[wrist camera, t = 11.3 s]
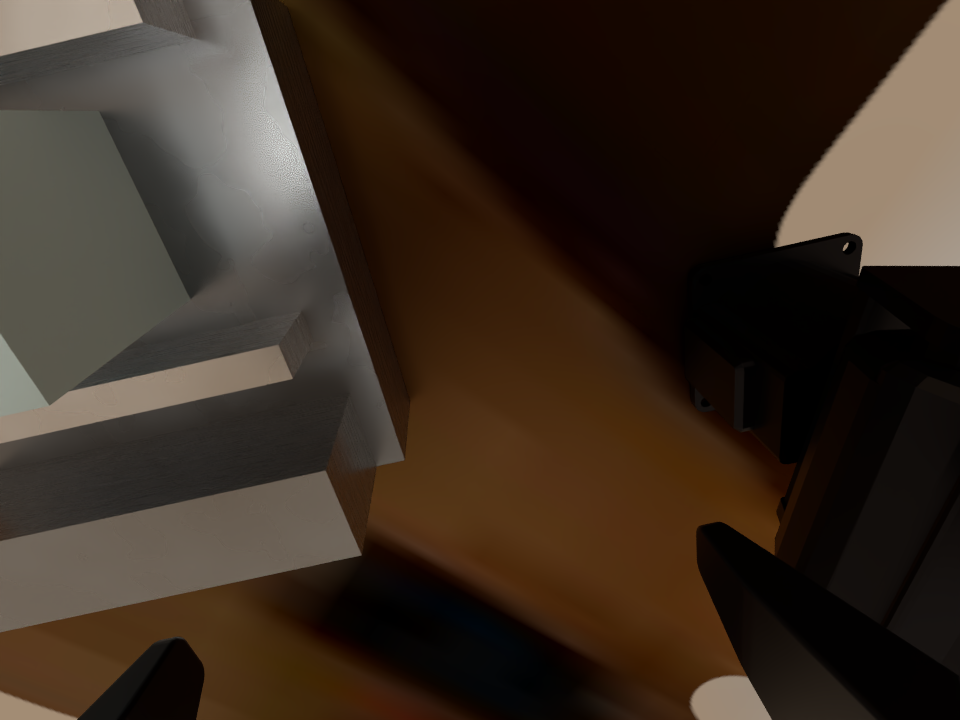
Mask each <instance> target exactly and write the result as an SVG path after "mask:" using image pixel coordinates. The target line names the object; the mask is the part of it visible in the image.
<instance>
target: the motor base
mask: <svg viewBox="0 0 960 720" xmlns="http://www.w3.org/2000/svg"><path fill="white" fill-rule="evenodd" d="M0 110H40V111H99V112H100V114H101V116H102V118H103V120H104V122H105V125H106V127H107V129H108V131H109V133H110V135H111V137H112V139H113V141H114V143H115V145H116V147H117V149H118V151H119V153H120V155H121V158H122V160H123V162H124V164H125V166H126V168H127V170H128V172H129V174H130V176H131V178H132V180H133V182H134V184H135V186H136V188H137V191H138V193H139V195H140V197H141V199H142V201H143V203H144V205H145V207H146V209H147V211H148V213H149V215H150V217H151V219H152V221H153V224H154V226H155V228H156V230H157V232H158V234H159V236H160V238H161V240H162V242H163V244H164V246H165V248H166V250H167V252H168V254H169V257H170V259H171V261H172V263H173V265H174V267H175V269H176V271H177V273H178V275H179V277H180V279H181V281H182V283H183V285H184V287H185V290H186V292H187V294H188V296H189V298H190V300H189V301H188V302H186V303H185V304H184V305H182V306H181V307H180V308H178V309H177V310H176V311H174V312H173V313H172V314H170V315H169V316H168V317H166V318H165V319H164V320H162V321H161V322H160V323H158V324H157V325H156V326H154V327H153V328H152V329H151V330H149V331H148V332H147V333H145V334H144V335H143V336H141V337H140V338H139V339H137V340H136V341H135V342H133V343H132V344H131V345H129V346H128V347H127V348H125V349H124V350H123V351H121V352H120V353H119V354H117V355H116V356H115V357H113V358H112V359H111V360H109V361H108V362H107V363H106V364H104V365H103V366H102V367H100V368H99V369H98V370H96V371H95V372H94V373H92V374H91V375H90V376H88V377H87V378H86V379H84V380H83V381H82V382H80V383H79V384H78V385H76V386H75V387H74V388H72V389H71V390H70V391H68V392H67V393H66V394H64V395H63V396H62V397H61V398H59V399H58V400H57V401H55V402H54V403H53V404H51V405H50V406H47V407H42V408H38V409H33V410H29V411H24V412H20V413H15V414H11V415H6V416H2V417H0V632H3V631H8V630H13V629H17V628H22V627H27V626H31V625H36V624H41V623H45V622H50V621H55V620H60V619H64V618H69V617H74V616H78V615H83V614H88V613H92V612H97V611H102V610H106V609H111V608H116V607H121V606H125V605H130V604H135V603H139V602H144V601H149V600H153V599H158V598H163V597H168V596H172V595H177V594H182V593H186V592H191V591H196V590H200V589H205V588H210V587H214V586H219V585H224V584H229V583H233V582H238V581H243V580H247V579H252V578H257V577H261V576H266V575H271V574H275V573H280V572H285V571H290V570H294V569H299V568H304V567H308V566H313V565H318V564H322V563H327V562H332V561H336V560H341V559H346V558H351V557H355V556H360V555H362V550H363V544H364V538H365V533H366V527H367V521H368V515H369V509H370V503H371V497H372V491H373V485H374V479H375V473H376V467H377V466H380V465H384V464H389V463H393V462H398V461H403V460H405V452H406V441H407V430H408V419H409V408H410V400H409V397H408V394H407V390H406V387H405V384H404V381H403V378H402V374H401V371H400V368H399V365H398V361H397V358H396V355H395V352H394V349H393V345H392V342H391V339H390V336H389V333H388V329H387V326H386V323H385V320H384V316H383V313H382V310H381V307H380V304H379V300H378V297H377V294H376V291H375V288H374V284H373V281H372V278H371V275H370V271H369V268H368V265H367V262H366V259H365V255H364V252H363V249H362V246H361V243H360V239H359V236H358V233H357V230H356V226H355V223H354V220H353V217H352V214H351V210H350V207H349V204H348V201H347V198H346V194H345V191H344V188H343V185H342V181H341V178H340V175H339V172H338V169H337V165H336V162H335V159H334V156H333V153H332V149H331V146H330V143H329V140H328V136H327V133H326V130H325V127H324V124H323V120H322V117H321V114H320V111H319V107H318V104H317V101H316V98H315V95H314V91H313V88H312V85H311V82H310V79H309V75H308V72H307V69H306V66H305V62H304V59H303V56H302V53H301V50H300V46H299V43H298V40H297V37H296V34H295V30H294V27H293V24H292V21H291V17H290V14H289V11H288V8H287V6H285V5H284V4H283V3H281V2H280V1H278V0H0Z"/></svg>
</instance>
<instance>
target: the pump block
mask: <svg viewBox="0 0 960 720" xmlns="http://www.w3.org/2000/svg"><path fill="white" fill-rule="evenodd" d="M189 300H190V298H189V296H188V294H187V292H186V290H185V287H184V285H183V283H182V281H181V279H180V277H179V275H178V273H177V271H176V269H175V267H174V265H173V263H172V261H171V259H170V257H169V254H168V252H167V250H166V248H165V246H164V244H163V242H162V240H161V238H160V236H159V234H158V232H157V230H156V228H155V226H154V224H153V221H152V219H151V217H150V215H149V213H148V211H147V209H146V207H145V205H144V203H143V201H142V199H141V197H140V195H139V193H138V191H137V188H136V186H135V184H134V182H133V180H132V178H131V176H130V174H129V172H128V170H127V168H126V166H125V164H124V162H123V160H122V158H121V155H120V153H119V151H118V149H117V147H116V145H115V143H114V141H113V139H112V137H111V135H110V133H109V131H108V129H107V127H106V125H105V122H104V120H103V118H102V116H101V114H100V112H99V111H40V110H0V417H2V416H6V415H11V414H15V413H20V412H24V411H29V410H33V409H38V408H42V407H47V406H50V405H51V404H53V403H54V402H55V401H57V400H58V399H59V398H61V397H62V396H63V395H64V394H66V393H67V392H68V391H70V390H71V389H72V388H74V387H75V386H76V385H78V384H79V383H80V382H82V381H83V380H84V379H86V378H87V377H88V376H90V375H91V374H92V373H94V372H95V371H96V370H98V369H99V368H100V367H102V366H103V365H104V364H106V363H107V362H108V361H109V360H111V359H112V358H113V357H115V356H116V355H117V354H119V353H120V352H121V351H123V350H124V349H125V348H127V347H128V346H129V345H131V344H132V343H133V342H135V341H136V340H137V339H139V338H140V337H141V336H143V335H144V334H145V333H147V332H148V331H149V330H151V329H152V328H153V327H154V326H156V325H157V324H158V323H160V322H161V321H162V320H164V319H165V318H166V317H168V316H169V315H170V314H172V313H173V312H174V311H176V310H177V309H178V308H180V307H181V306H182V305H184V304H185V303H186V302H188V301H189Z"/></svg>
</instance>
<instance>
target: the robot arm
mask: <svg viewBox="0 0 960 720" xmlns="http://www.w3.org/2000/svg"><path fill="white" fill-rule="evenodd" d="M846 243H849V244H848V247H847V249H846V250H845V251H843V247H844V245H845V244H846ZM862 246H863V243H862V239H861V238H860V237H859V236H857V235H855V234H851V233H840V234H835V235H831V236H826V237H822V238H817V239H813V240H809V241H804V242H799V243H795V244H790V245H786V246H781V247H777V248H772V249H768V250H763V251H759V252H754V253H750V254H745V255H741V256H736V257H732V258H727V259H723V260H718V261H713V262H709V263H704V264H700V265H698V266H695V267H694V268H693V269H692V270H691V272H690V273H689V276H688V306H689V319H688V320H687V321H686V323H685V325H684V353H685V377H686V379H687V380H688V381H689V382H690V384H691V402H692V404H693V405H694V406H695V407H696V408H697V410H698V411H701V412H708V411H712V410H716V411H717V412H718V413H719V414H720V415H721V416H722V417H723V418H724V419H725V420H726V421H727V422H728V424H729V425H730V426H731V427H732V428H734V429H735V430H737V431H739V432H745V431H750V432H751V433H752V434H753V435H754V436H755V437H756V438H757V439H758V440H759V441H760V442H761V443H762V444H763V445H764V446H765V447H766V448H767V449H768V450H769V451H770V452H771V453H772V454H773V455H774V456H775V457H776V458H777V459H778V460H779V461H780V462H781V463H782V464H791V463H795V462H797V465H796V467H795V470H794V473H793V476H792V479H791V482H790V484H789V487H788V490H787V493H786V496H785V497H782V498H781V499H780V502H779V505H778V508H777V511H776V512H777V516H778V519H779V521H780V526H779V529H778V532H777V534H776V537H775V556H774V555H773V554H771V553H770V552H768V551H767V550H765V549H764V548H762V547H760V546H759V545H757V544H756V543H754V542H753V541H751V540H750V539H748V538H747V537H745V536H744V535H742V534H740V533H739V532H737V531H736V530H734V529H733V528H731V527H730V526H728V525H727V524H725V523H722V522H714V523H710V524H705V525H701V526H699V527H698V528H697V531H696V543H697V564H698V568H699V571H700V574H701V576H702V578H703V581H704V583H705V585H706V587H707V590H708V592H709V594H710V596H711V599H712V601H713V603H714V605H715V608H716V610H717V612H718V614H719V616H720V619H721V621H722V623H723V625H724V628H725V630H726V632H727V634H728V637H729V639H730V641H731V643H732V646H733V648H734V650H735V652H736V654H737V657H738V659H739V661H740V663H741V665H742V667H743V669H744V671H745V673H746V674H747V676H748V678H749V680H750V682H751V684H752V685H753V687H754V689H755V690H756V692H757V694H758V696H759V698H760V699H761V701H762V703H763V705H764V706H765V708H766V710H767V712H768V713H769V715H770V717H771V719H772V720H960V266H863V267H862V269H861V272H860V275H859V269H860V261H861V254H862ZM705 273H707V278H706V280H705V281H704V282H702V283H699V278H700V277H701V276H702V275H703V274H705ZM703 398H705V399H706V401H704V402H701V400H702V399H703ZM203 683H204V667H203V664H202V662H201V661H200V659H199V658H198V657H197V655H196V654H195V652H194V651H193V650H192V648H191V647H190V645H189V644H188V643H187V641H186V640H185V639H184V638H182V637H173V638H168V639H164V640H160V641H157V642H155V643H154V644H152V645H151V646H150V647H149V648H148V649H147V650H146V651H145V652H144V653H143V654H142V655H141V656H140V657H139V658H138V659H137V660H136V661H135V662H134V663H133V664H132V665H131V666H130V667H129V668H128V669H127V670H126V671H125V672H124V673H123V674H122V675H121V676H120V677H119V678H118V679H117V680H116V681H115V682H114V683H113V684H112V685H111V686H110V687H109V688H108V689H107V690H106V691H105V692H104V693H103V694H102V695H101V696H100V697H99V698H98V699H97V700H96V701H95V702H94V703H93V704H92V705H91V706H90V707H89V708H88V709H87V710H86V711H85V712H84V713H83V714H82V715H81V716H80V717H79V718H78V719H77V720H196V717H197V712H198V707H199V702H200V697H201V692H202V687H203Z"/></svg>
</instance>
